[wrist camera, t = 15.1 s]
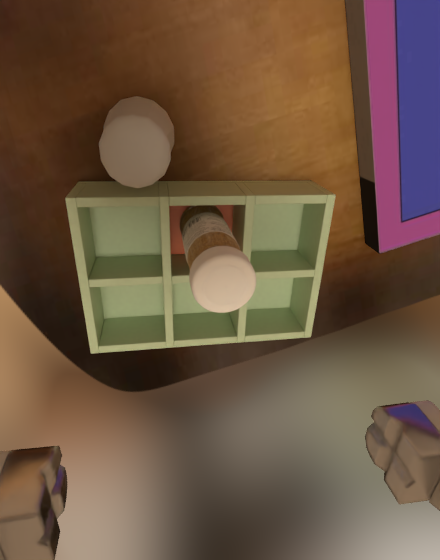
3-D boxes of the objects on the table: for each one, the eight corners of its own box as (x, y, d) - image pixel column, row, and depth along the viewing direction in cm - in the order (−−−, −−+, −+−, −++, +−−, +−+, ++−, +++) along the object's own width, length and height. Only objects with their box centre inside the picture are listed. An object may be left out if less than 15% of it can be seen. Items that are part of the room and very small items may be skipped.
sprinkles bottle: (195, 252, 38) (214, 326, 26) (169, 217, 36) (177, 281, 24) (232, 228, 37) (269, 292, 26) (208, 191, 35) (236, 243, 23)
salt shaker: (119, 171, 34) (102, 213, 23) (97, 105, 31) (65, 114, 20) (180, 156, 34) (194, 190, 23) (163, 89, 32) (169, 89, 20)
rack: (98, 320, 41) (90, 353, 36) (78, 181, 34) (64, 197, 29) (292, 308, 44) (310, 337, 39) (311, 180, 37) (336, 194, 32)
